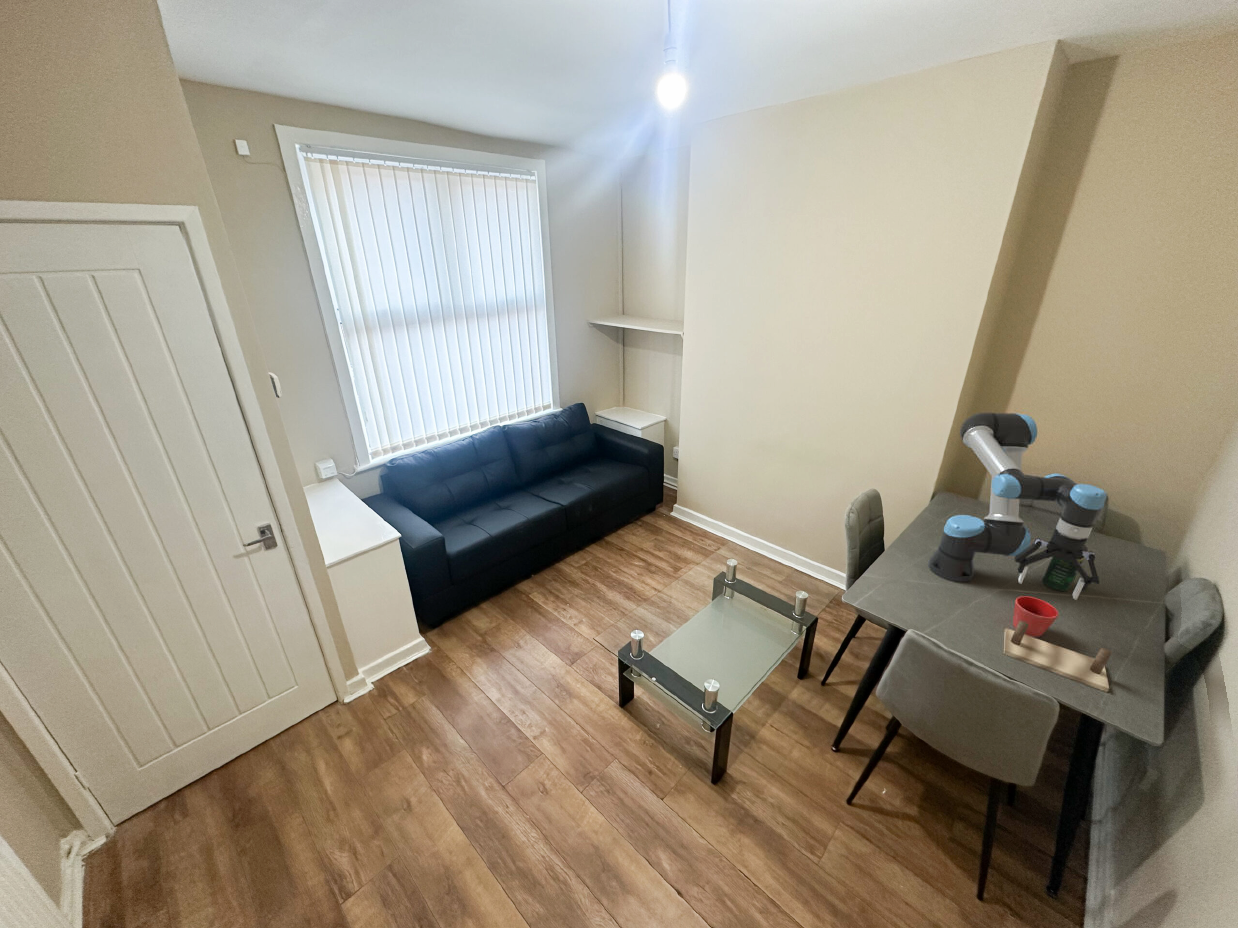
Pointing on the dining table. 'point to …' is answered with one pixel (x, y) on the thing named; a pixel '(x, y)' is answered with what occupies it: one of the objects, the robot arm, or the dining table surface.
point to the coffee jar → (1061, 573)
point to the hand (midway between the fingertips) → (1046, 588)
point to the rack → (1057, 658)
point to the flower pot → (1034, 615)
